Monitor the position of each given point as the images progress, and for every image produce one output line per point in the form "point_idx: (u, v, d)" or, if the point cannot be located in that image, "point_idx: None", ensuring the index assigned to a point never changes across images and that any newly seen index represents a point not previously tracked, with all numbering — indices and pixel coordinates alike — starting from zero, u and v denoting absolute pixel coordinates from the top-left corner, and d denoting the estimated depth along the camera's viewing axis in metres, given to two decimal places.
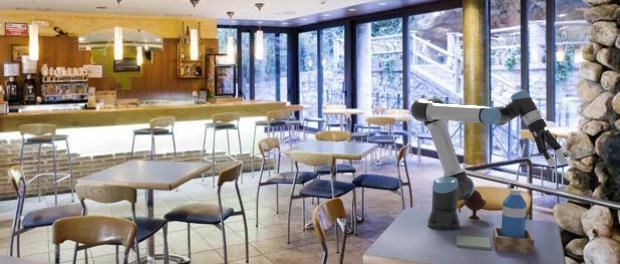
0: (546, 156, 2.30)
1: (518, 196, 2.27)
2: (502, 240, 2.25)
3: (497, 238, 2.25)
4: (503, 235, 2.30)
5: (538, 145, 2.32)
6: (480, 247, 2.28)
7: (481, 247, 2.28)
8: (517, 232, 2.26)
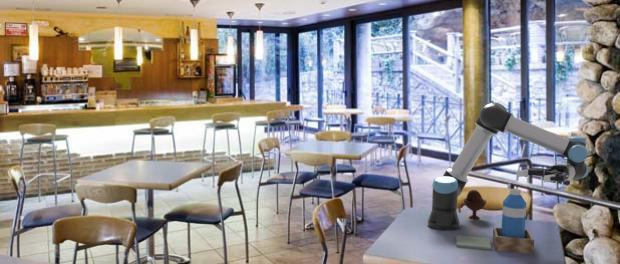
0: (554, 178, 2.28)
1: (518, 196, 2.27)
2: (502, 240, 2.25)
3: (497, 238, 2.25)
4: (503, 235, 2.30)
5: (564, 177, 2.30)
6: (480, 247, 2.28)
7: (481, 247, 2.28)
8: (517, 232, 2.26)
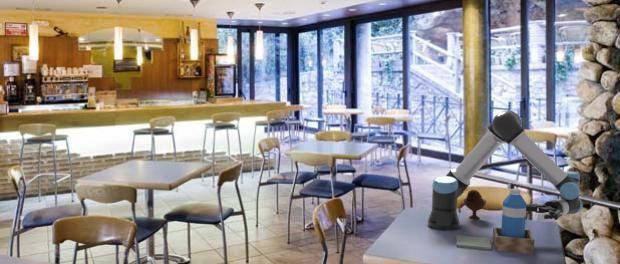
0: (548, 217, 2.28)
1: (518, 196, 2.27)
2: (502, 240, 2.25)
3: (497, 238, 2.25)
4: (503, 235, 2.30)
5: (558, 214, 2.30)
6: (480, 247, 2.28)
7: (481, 247, 2.28)
8: (517, 232, 2.26)
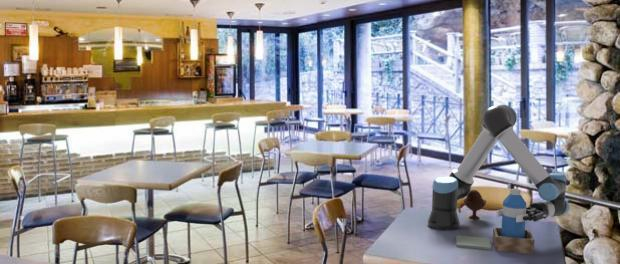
0: (527, 218, 2.24)
1: (518, 196, 2.27)
2: (502, 240, 2.25)
3: (497, 238, 2.25)
4: (503, 235, 2.30)
5: (538, 216, 2.26)
6: (480, 247, 2.28)
7: (481, 247, 2.28)
8: (517, 232, 2.26)
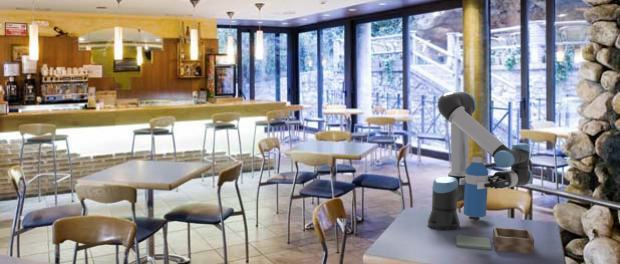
0: (488, 185, 2.27)
1: (480, 164, 2.29)
2: (502, 240, 2.25)
3: (497, 238, 2.25)
4: (465, 203, 2.32)
5: (500, 184, 2.29)
6: (480, 247, 2.28)
7: (481, 247, 2.28)
8: (479, 199, 2.29)
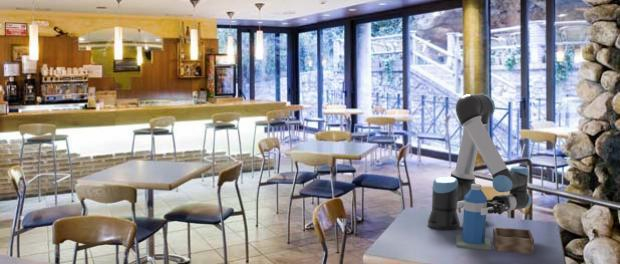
0: (492, 211, 2.27)
1: (478, 191, 2.30)
2: (502, 240, 2.25)
3: (497, 238, 2.25)
4: (464, 229, 2.34)
5: (502, 209, 2.29)
6: (480, 247, 2.28)
7: (481, 247, 2.28)
8: (478, 226, 2.30)
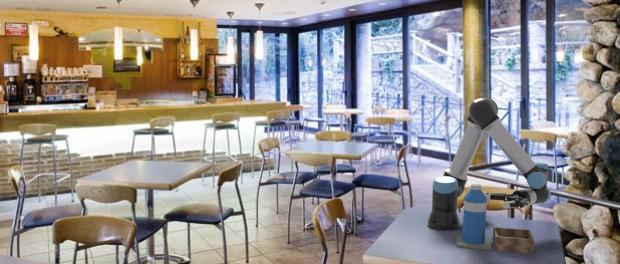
0: (514, 205, 2.34)
1: (478, 191, 2.30)
2: (502, 240, 2.25)
3: (497, 238, 2.25)
4: (464, 229, 2.34)
5: (524, 203, 2.36)
6: (480, 247, 2.28)
7: (481, 247, 2.28)
8: (477, 226, 2.30)
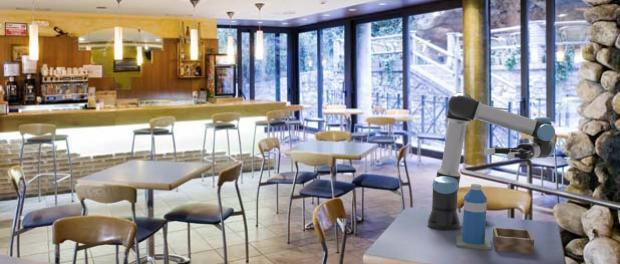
0: (518, 155, 2.37)
1: (478, 191, 2.30)
2: (502, 240, 2.25)
3: (497, 238, 2.25)
4: (464, 229, 2.34)
5: (528, 154, 2.39)
6: (480, 247, 2.28)
7: (481, 247, 2.28)
8: (477, 226, 2.30)
